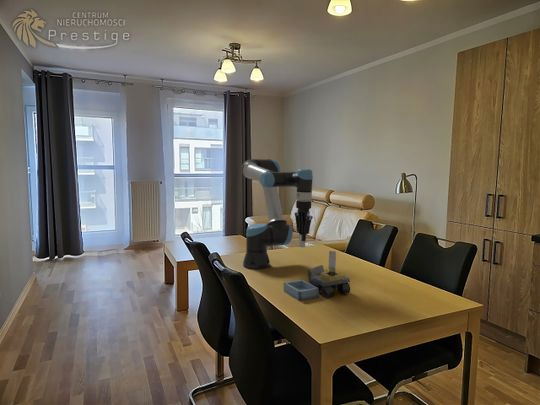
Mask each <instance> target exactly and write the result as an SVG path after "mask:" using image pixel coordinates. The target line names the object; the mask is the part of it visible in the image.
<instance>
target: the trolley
mask: <svg viewBox="0 0 540 405" xmlns="http://www.w3.org/2000/svg"><path fill="white" fill-rule="evenodd" d="M328 274H329V270H328V271H324V272H322V273H321V275H317V276H312V275H311V280H312V281H311V284H312V285H313V286H315V287H317V288H319V292H320V293H321V296H322V297H323V298H325V299H327V298H332V297H333V296H335V291H334V290H335V289H337V291H338V293H339V294H340V295H341V296H342V295H347V294H349V293H350V292H351V286H350V281H351V279H350V277H348V276H345V275H344V274H343V273H342V274H341V273H340V272H337V271H335V275H333V276H330V275H328Z"/></svg>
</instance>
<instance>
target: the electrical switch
mask: <svg viewBox="0 0 540 405" xmlns="http://www.w3.org/2000/svg"><path fill="white" fill-rule="evenodd" d="M306 272H307V277H308V283H310V284H311V281H312V280H311V276H317V275H321V273H322V272H325V269H324V265H321V264H320V265H318V266H314V267H312V268H310V269H308V270H306Z"/></svg>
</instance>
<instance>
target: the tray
mask: <svg viewBox="0 0 540 405" xmlns="http://www.w3.org/2000/svg"><path fill="white" fill-rule="evenodd" d="M283 292H284V293H285V294H288V296H291V297H292V298H294V299H295V300H297V301H299V302H301V301H307V300H312V299H316V298H320V296H319V295H320V294H319V293H320V291H319V288H317V287H315V286H313V285H312V284H310V283H309V281H308V282H307V281H306V280H304V279H298V280H292V281H286V282H283Z"/></svg>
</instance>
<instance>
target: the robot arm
mask: <svg viewBox="0 0 540 405" xmlns="http://www.w3.org/2000/svg"><path fill="white" fill-rule="evenodd" d="M240 171H241V174H242V176H243V177H245V178H247V179H250V180H251V179H253V180H255V181H258V183H259V184H260V185H261V186H262V190H263V196H264V201H265V202H264V203H265V206H266V212H267V218H268V222H267V223H265V222H262V223H253V224H250V225H248V226H247V228H246V234H245V236H246V238H245V239H246V240H245V241H246V242H245V243H246V244H245V245H246V248H245V249H246V250H245V252H246V253H245V255H244V258H243V261H242V265H243V267H244V268H247V269H251V270H259V269H260V270H263V269H268V268H269V267H270V266H271V261H270V258H269V254H268V247H277V246H287V245H289V244H290V243H291V241H292V238H293V233H294V232H293V231H294V230H293V227H292V225H291V224H288V221H287V220H286V219H285V218H284V216H283V215H284V214H283V210H282V206H281V199H280V195H279V188H287V187H289V188H292V187H294V188H296V197H295V198H296V201H295V208H296V209H297V212H294V217H295V225H296V227H295V228H296V232H297V233H298V235H299V236H298V239H299V240H298V241H299V242H298V247H299V248H306V238H307V235H309V233H310V228H311V224H312V220H313V218H314V217H313V215H311V213H310V210H311V208H312V200H313V199H312V198H313V196H312V195H313V192H312V191H313V179H314V177H313V170H312V169H310V168H309V169H307V168H299V169H297V170H296V171H287V172H286V171H281V167H280V164H279V162H278V161H277V160H276V159H270V158H267V159H265V158H263V159H260V158H257V159H256V158H251V159H247V160H246V161H244V162H243V163H242V166H241V169H240Z"/></svg>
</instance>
